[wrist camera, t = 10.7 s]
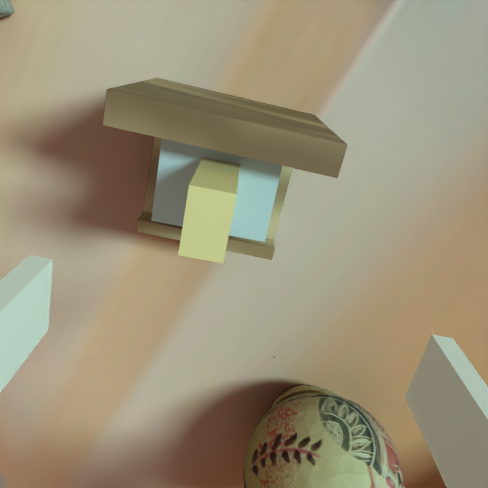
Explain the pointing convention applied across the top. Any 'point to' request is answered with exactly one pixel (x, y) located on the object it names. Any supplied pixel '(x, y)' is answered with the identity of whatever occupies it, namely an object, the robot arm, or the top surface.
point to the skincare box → (5, 8)
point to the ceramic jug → (320, 445)
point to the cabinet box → (213, 197)
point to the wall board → (223, 140)
